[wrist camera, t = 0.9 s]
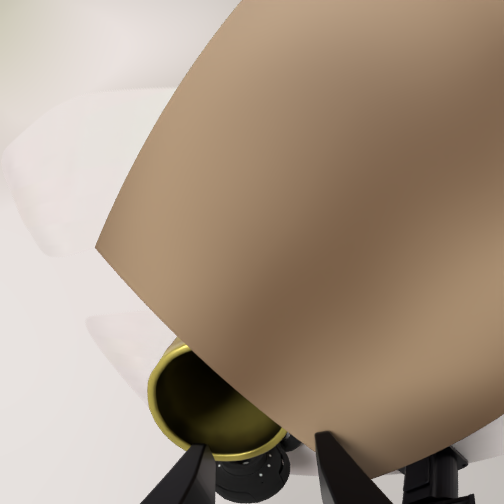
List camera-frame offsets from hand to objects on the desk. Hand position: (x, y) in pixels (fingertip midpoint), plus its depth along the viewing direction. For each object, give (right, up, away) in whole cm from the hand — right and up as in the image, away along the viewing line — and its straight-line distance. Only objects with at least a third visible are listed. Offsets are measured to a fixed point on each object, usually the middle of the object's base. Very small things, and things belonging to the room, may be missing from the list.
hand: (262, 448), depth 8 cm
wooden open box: (+10, +12, +9) cm, 18 cm away
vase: (-1, +1, +17) cm, 17 cm away
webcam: (+2, -12, +22) cm, 25 cm away
